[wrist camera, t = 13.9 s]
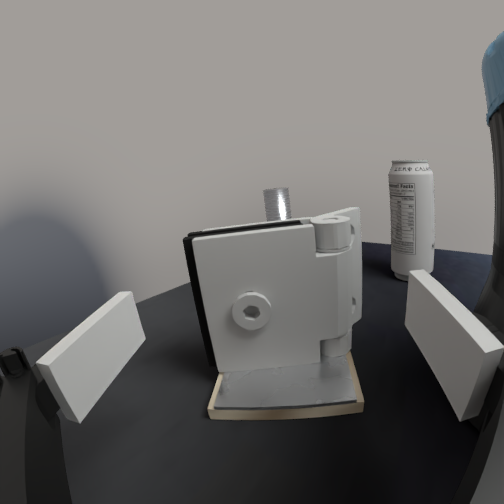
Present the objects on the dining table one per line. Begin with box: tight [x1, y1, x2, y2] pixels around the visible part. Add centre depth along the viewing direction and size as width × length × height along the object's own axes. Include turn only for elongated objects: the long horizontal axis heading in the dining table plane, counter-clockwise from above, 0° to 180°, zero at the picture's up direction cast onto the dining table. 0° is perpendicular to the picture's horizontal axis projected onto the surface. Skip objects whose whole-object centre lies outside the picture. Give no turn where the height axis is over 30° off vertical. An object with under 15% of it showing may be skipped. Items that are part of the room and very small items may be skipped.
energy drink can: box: [388, 160, 435, 281], centre depth 34 cm, size 6×6×15 cm
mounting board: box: [207, 350, 364, 420], centre depth 25 cm, size 10×18×1 cm, turn 174°
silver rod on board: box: [214, 188, 357, 410], centre depth 23 cm, size 9×17×12 cm, turn 174°
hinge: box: [183, 207, 362, 372], centre depth 21 cm, size 14×5×10 cm, turn 102°
